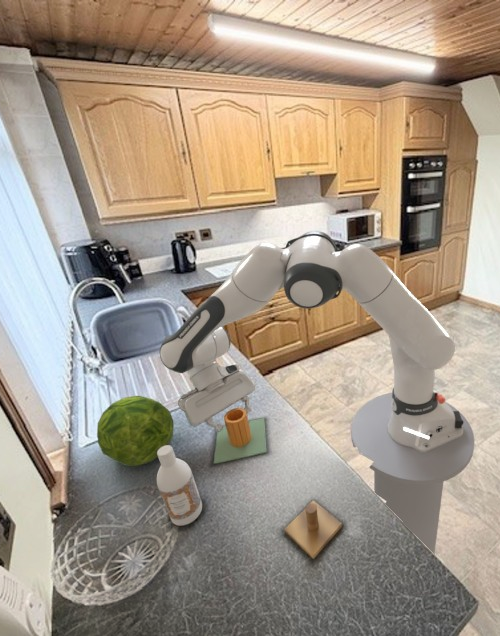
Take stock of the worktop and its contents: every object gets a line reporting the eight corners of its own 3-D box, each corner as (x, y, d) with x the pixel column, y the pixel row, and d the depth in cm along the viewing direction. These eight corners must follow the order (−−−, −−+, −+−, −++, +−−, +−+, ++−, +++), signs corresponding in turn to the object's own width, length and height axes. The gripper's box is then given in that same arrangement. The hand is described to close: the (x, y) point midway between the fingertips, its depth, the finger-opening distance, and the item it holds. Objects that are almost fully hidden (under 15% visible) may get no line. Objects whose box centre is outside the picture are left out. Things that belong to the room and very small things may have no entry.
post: (313, 502, 82) (311, 482, 79) (342, 526, 77) (340, 505, 74) (284, 531, 76) (280, 511, 73) (313, 559, 71) (310, 538, 68)
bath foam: (169, 531, 77) (143, 467, 69) (172, 504, 83) (148, 443, 75) (202, 520, 79) (181, 457, 71) (203, 495, 85) (183, 434, 76)
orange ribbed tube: (251, 429, 104) (246, 406, 100) (251, 444, 99) (246, 420, 95) (230, 434, 103) (224, 410, 99) (229, 449, 98) (223, 424, 94)
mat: (264, 419, 109) (264, 418, 109) (266, 452, 97) (266, 451, 96) (217, 428, 106) (217, 427, 106) (214, 464, 94) (213, 463, 94)
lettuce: (159, 414, 113) (129, 374, 105) (194, 437, 98) (162, 392, 90) (106, 456, 102) (67, 415, 94) (136, 489, 88) (94, 444, 80)
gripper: (176, 395, 91) (203, 440, 89) (242, 361, 105) (267, 400, 103) (172, 402, 95) (198, 445, 94) (236, 368, 109) (260, 405, 108)
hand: (235, 421), depth 98 cm, fingers open, 8 cm apart
